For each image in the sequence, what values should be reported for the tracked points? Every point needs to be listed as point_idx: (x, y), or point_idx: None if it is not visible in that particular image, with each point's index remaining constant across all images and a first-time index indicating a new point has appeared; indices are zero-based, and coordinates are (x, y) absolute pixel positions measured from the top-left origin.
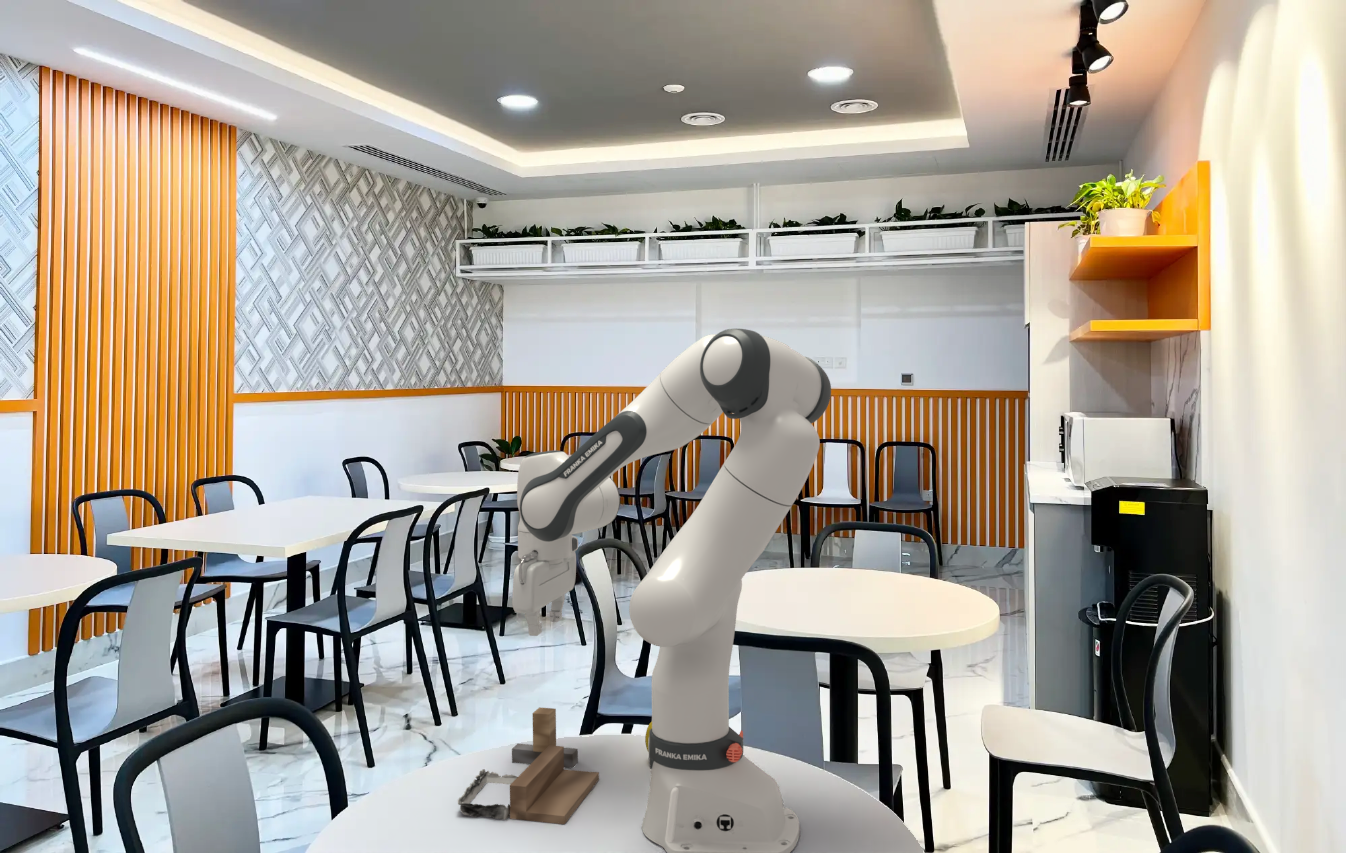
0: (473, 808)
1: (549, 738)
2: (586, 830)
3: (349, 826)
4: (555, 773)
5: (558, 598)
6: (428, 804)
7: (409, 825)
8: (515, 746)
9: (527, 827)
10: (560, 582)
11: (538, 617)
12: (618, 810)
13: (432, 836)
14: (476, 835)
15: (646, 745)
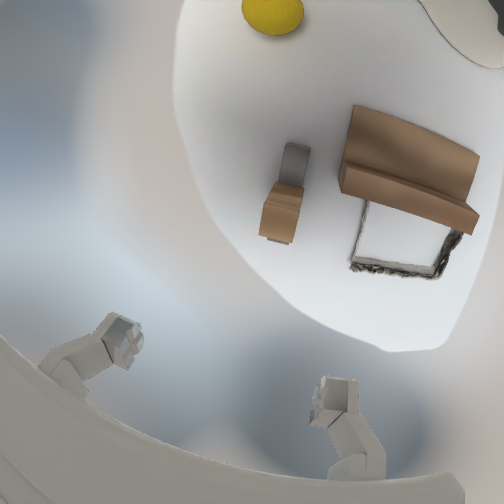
0: (440, 260)
1: (302, 195)
2: (487, 129)
3: (423, 343)
4: (380, 171)
5: (74, 379)
6: (400, 301)
7: (438, 305)
8: (279, 241)
9: (474, 195)
10: (69, 473)
11: (367, 444)
12: (446, 84)
13: (465, 283)
14: (476, 245)
15: (287, 32)
